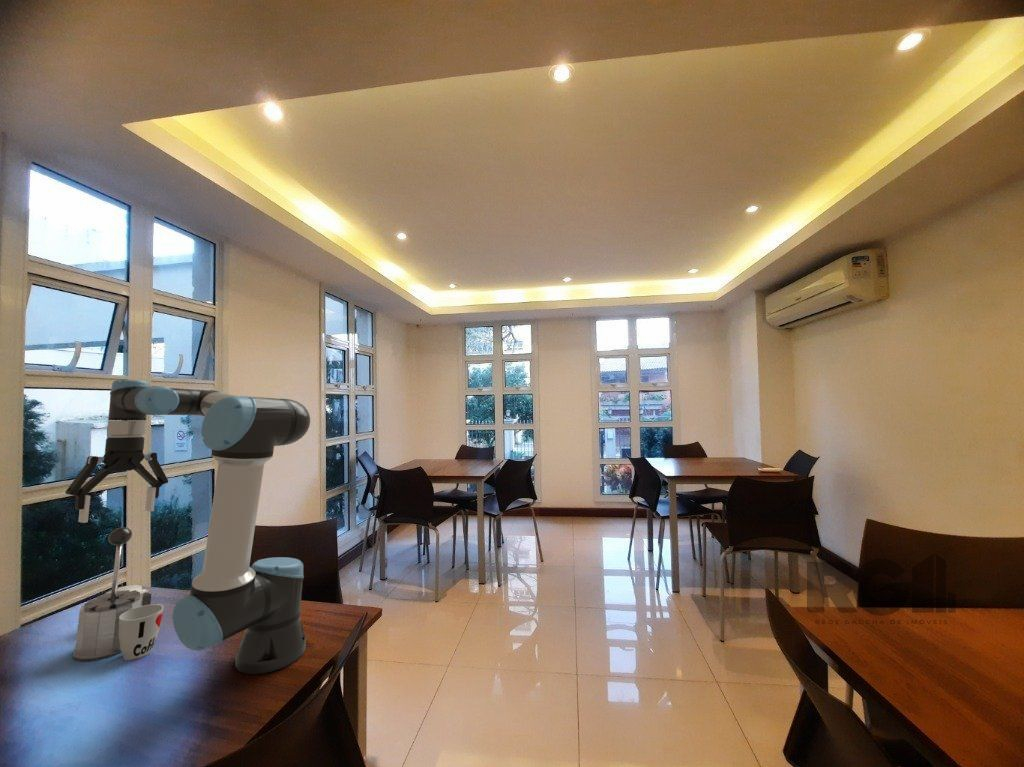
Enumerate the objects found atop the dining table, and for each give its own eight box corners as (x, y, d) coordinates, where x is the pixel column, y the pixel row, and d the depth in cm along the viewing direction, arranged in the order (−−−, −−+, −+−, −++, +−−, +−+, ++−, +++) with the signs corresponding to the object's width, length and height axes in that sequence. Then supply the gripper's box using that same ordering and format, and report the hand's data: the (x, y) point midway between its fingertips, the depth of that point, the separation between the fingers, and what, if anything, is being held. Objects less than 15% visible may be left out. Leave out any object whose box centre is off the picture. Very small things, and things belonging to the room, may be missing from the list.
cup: (131, 666, 93) (136, 622, 93) (105, 661, 94) (110, 617, 95) (167, 646, 101) (171, 606, 101) (143, 642, 102) (147, 602, 103)
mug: (150, 618, 114) (154, 586, 115) (109, 633, 105) (113, 599, 106) (136, 612, 117) (139, 581, 117) (94, 627, 108) (98, 593, 109)
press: (157, 637, 104) (162, 591, 105) (87, 666, 92) (93, 614, 93) (132, 626, 109) (137, 582, 110) (62, 653, 96) (68, 603, 97)
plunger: (142, 603, 103) (150, 525, 105) (98, 619, 95) (108, 534, 97) (124, 597, 106) (133, 521, 108) (80, 611, 98) (90, 529, 100)
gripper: (171, 434, 120) (165, 505, 118) (52, 437, 97) (42, 525, 95) (186, 435, 117) (180, 507, 115) (67, 438, 94) (57, 529, 92)
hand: (118, 516), depth 105 cm, fingers open, 13 cm apart
